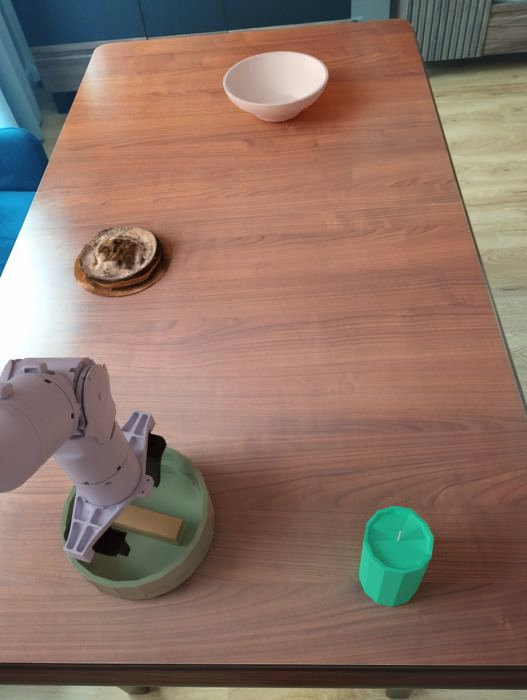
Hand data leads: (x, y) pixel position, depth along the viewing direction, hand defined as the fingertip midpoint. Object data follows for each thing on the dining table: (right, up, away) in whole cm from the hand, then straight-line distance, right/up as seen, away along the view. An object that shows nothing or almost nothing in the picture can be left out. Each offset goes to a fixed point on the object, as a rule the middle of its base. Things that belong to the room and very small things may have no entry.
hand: (136, 515), depth 61 cm
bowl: (+16, +63, +52) cm, 84 cm away
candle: (+26, -5, -2) cm, 27 cm away
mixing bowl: (+1, -2, +3) cm, 4 cm away
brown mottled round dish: (-8, +31, +29) cm, 43 cm away
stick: (+1, -2, +2) cm, 3 cm away
